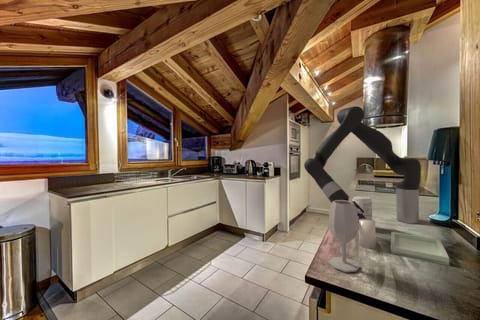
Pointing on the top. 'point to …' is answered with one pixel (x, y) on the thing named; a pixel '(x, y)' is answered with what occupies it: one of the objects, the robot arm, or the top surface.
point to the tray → (419, 248)
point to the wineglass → (343, 232)
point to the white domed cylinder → (367, 233)
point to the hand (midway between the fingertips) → (361, 225)
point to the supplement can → (364, 206)
